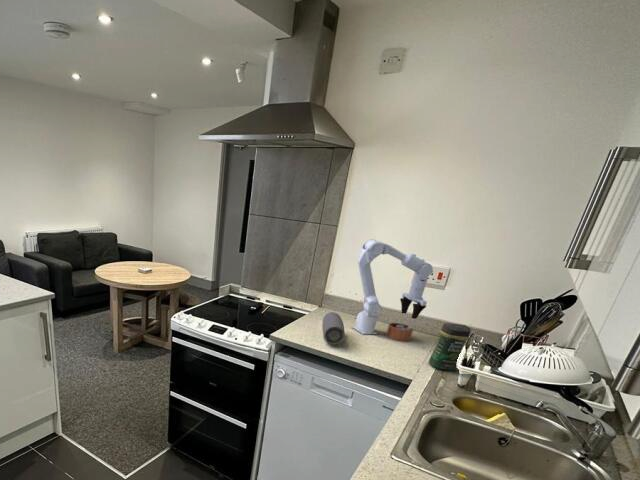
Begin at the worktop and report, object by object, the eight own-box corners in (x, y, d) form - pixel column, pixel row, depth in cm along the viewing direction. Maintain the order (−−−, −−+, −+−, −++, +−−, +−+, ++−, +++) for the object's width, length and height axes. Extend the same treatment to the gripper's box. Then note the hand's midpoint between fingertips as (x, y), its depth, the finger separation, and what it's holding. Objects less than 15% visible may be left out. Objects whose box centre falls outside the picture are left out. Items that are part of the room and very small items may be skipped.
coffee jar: (434, 370, 156) (450, 326, 149) (425, 361, 163) (440, 319, 156) (459, 372, 156) (476, 329, 148) (448, 364, 163) (464, 322, 156)
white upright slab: (392, 332, 191) (399, 318, 186) (394, 332, 192) (401, 318, 187) (405, 340, 186) (412, 326, 182) (407, 339, 187) (414, 325, 182)
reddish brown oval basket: (407, 343, 183) (411, 332, 181) (383, 336, 189) (386, 326, 186) (412, 335, 194) (416, 325, 191) (389, 330, 199) (392, 319, 197)
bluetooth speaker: (319, 329, 192) (323, 309, 188) (339, 332, 190) (344, 312, 186) (320, 345, 172) (325, 323, 168) (342, 348, 170) (348, 327, 166)
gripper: (436, 292, 177) (426, 320, 182) (414, 284, 190) (406, 311, 195) (422, 292, 176) (413, 320, 181) (401, 284, 189) (393, 310, 194)
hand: (408, 315), depth 188 cm, fingers open, 7 cm apart
